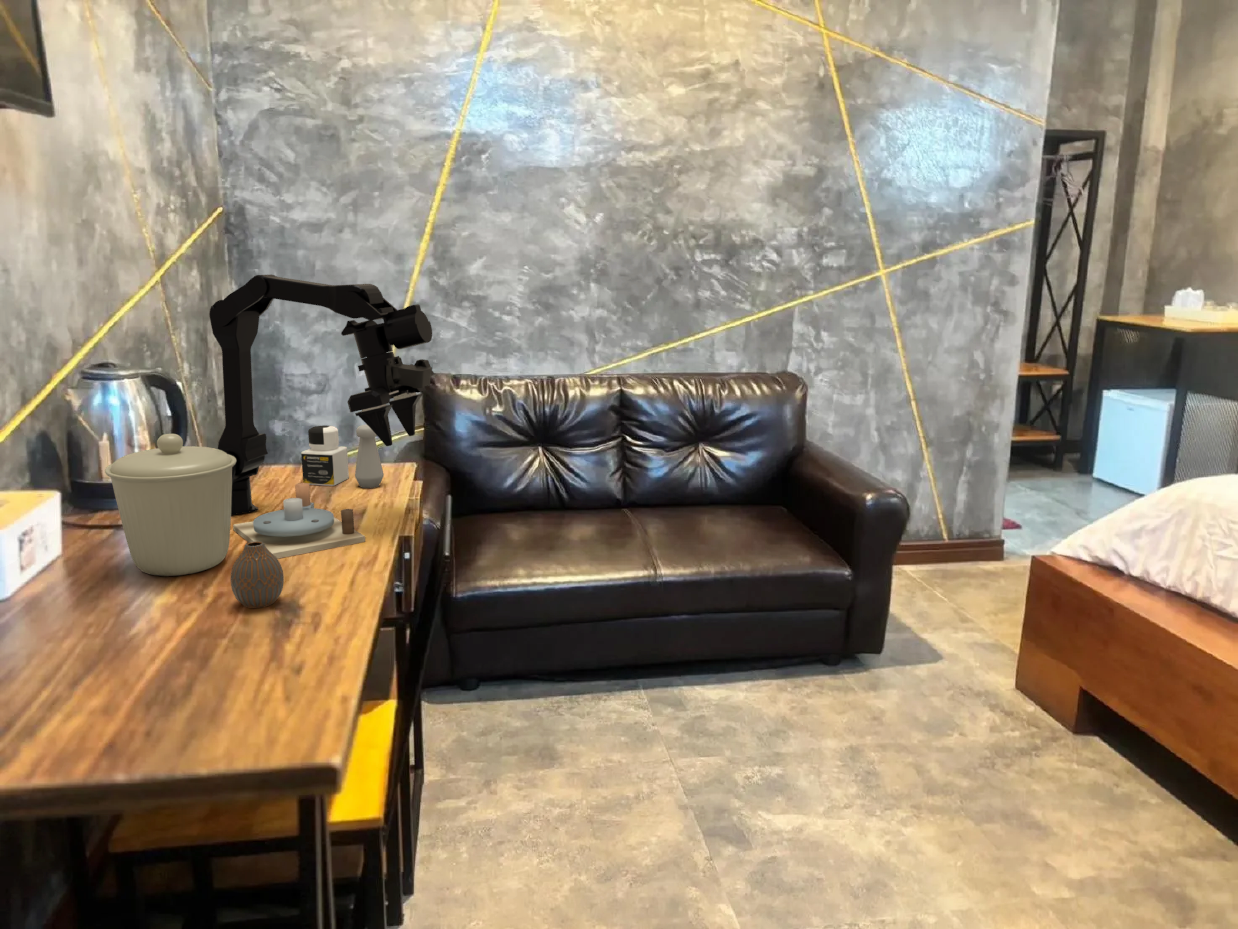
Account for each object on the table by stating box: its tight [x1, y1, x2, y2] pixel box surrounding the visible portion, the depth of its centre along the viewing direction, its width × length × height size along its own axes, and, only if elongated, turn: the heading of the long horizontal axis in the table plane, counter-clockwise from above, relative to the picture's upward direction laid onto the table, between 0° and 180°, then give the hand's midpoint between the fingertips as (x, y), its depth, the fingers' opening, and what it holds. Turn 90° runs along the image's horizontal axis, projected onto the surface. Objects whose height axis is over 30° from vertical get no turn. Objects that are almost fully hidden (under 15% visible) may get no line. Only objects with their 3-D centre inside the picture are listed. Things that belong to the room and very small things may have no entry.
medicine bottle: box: [300, 425, 350, 487], centre depth 194 cm, size 7×7×12 cm
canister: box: [104, 433, 236, 577], centre depth 140 cm, size 18×18×21 cm
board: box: [232, 508, 366, 560], centre depth 157 cm, size 20×16×5 cm
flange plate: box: [253, 482, 335, 537], centre depth 156 cm, size 16×13×5 cm
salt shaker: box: [354, 424, 385, 489], centre depth 190 cm, size 6×6×13 cm
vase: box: [230, 541, 285, 609], centre depth 127 cm, size 7×7×9 cm
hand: (401, 440), depth 162 cm, fingers open, 9 cm apart
